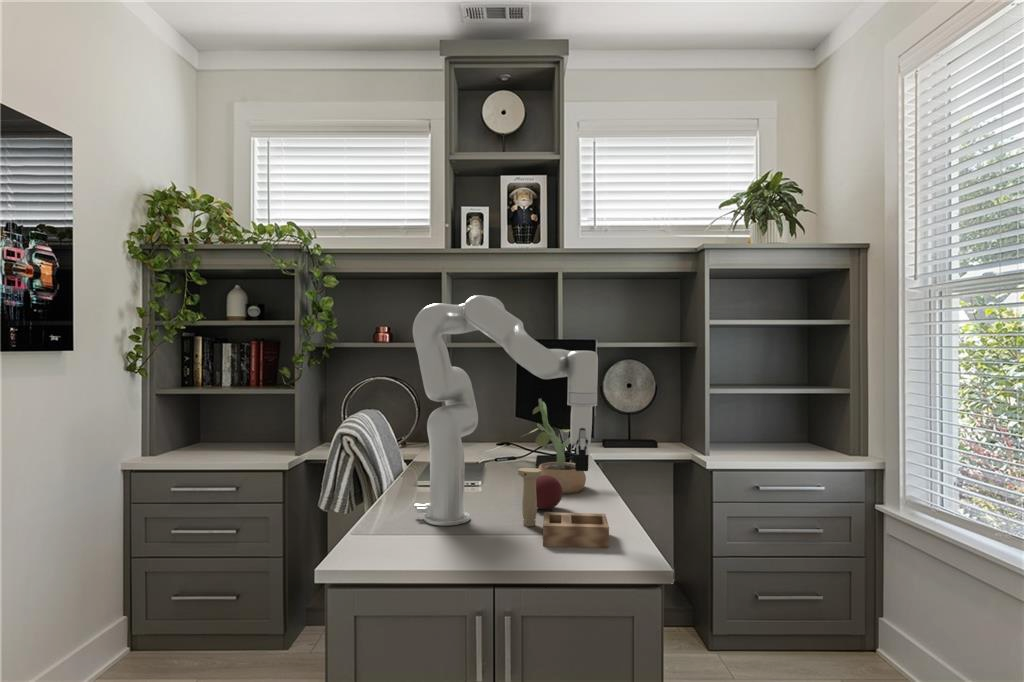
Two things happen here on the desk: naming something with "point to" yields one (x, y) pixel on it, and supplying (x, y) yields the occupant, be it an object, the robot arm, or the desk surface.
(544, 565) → the desk surface
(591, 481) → the desk surface
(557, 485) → the decorative ball
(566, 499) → the desk surface
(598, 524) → the wooden shelf
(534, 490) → the handle
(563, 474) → the potted plant
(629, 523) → the desk surface
